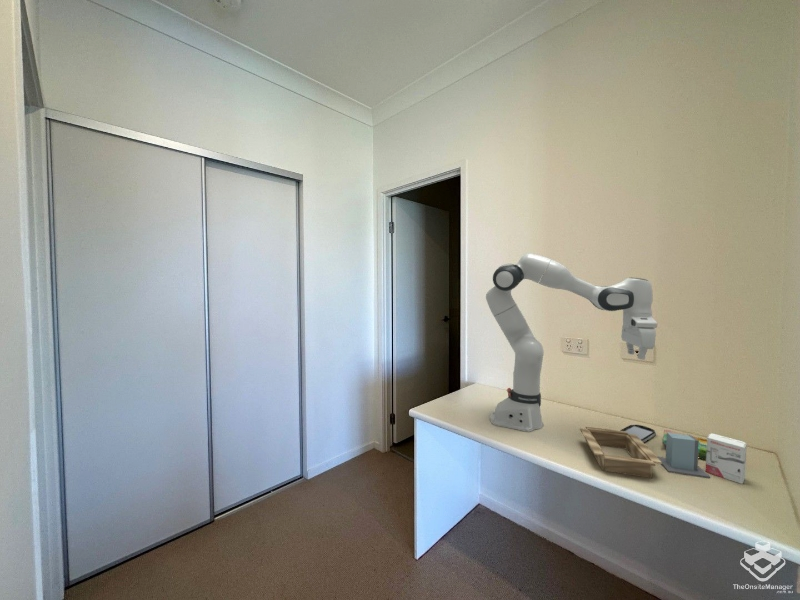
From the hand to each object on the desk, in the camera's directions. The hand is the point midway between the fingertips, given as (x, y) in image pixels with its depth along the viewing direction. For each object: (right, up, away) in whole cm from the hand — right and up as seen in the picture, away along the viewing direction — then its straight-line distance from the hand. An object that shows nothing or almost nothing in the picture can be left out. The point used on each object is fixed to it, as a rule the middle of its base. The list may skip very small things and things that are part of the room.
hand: (635, 356), depth 121 cm
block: (+4, -34, -15) cm, 37 cm away
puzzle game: (+19, -35, -5) cm, 40 cm away
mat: (+4, -35, -15) cm, 38 cm away
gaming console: (+6, -35, +8) cm, 36 cm away
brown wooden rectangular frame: (-14, -34, -9) cm, 38 cm away
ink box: (+15, -35, -19) cm, 42 cm away
